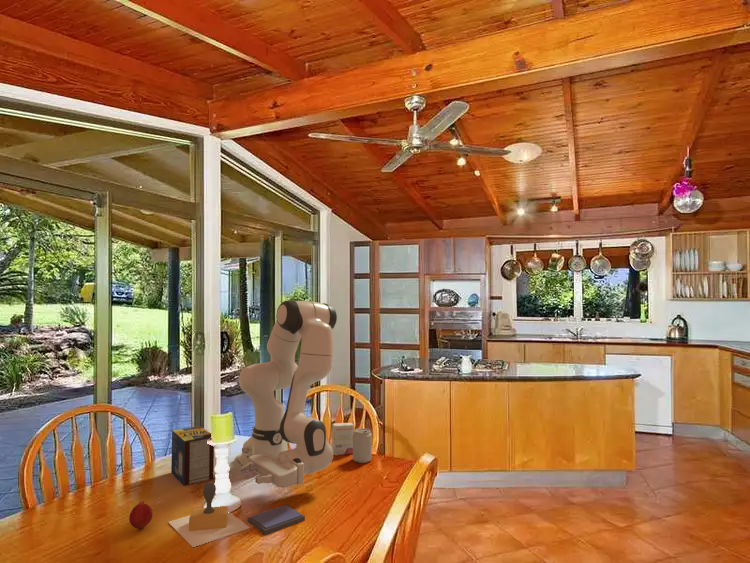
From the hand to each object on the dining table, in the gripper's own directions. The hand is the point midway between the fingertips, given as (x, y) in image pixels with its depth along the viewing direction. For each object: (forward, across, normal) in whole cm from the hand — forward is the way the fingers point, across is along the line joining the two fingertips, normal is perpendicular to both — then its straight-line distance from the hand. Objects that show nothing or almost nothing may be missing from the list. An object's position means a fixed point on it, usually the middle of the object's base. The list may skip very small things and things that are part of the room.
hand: (248, 475), depth 148 cm
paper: (+13, +1, +11) cm, 17 cm away
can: (-55, -11, +11) cm, 58 cm away
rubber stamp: (+13, +1, +11) cm, 17 cm away
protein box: (+2, -38, +12) cm, 40 cm away
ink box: (-55, -23, +12) cm, 61 cm away
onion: (+28, -9, +11) cm, 31 cm away
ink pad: (-3, +11, +10) cm, 16 cm away
